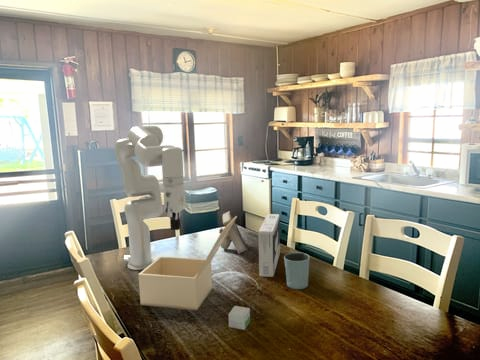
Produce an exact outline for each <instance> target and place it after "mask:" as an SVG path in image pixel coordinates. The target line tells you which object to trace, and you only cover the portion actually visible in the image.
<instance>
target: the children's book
mask: <svg viewBox="0 0 480 360" xmlns="http://www.w3.org/2000/svg"><path fill="white" fill-rule="evenodd" d="M233 218H234V217H233V215H232V213H231V211H230V210H229V211H227V212H224V213H223V214H222V224H223V226H224V228H225V227H226V226H227V225H228V224H229V223H230V222H231V220H232V219H233ZM224 228H223V227H220V229H219V230H218V234H221V232H222V230H223V229H224ZM246 243H247V242H246V241H245V237H243V236H242V233H241V231H240V229H239V227H238V225H237V223H236V220H235V221H234V223H233V225H232V226H231V228H230V230H229V231H228V233H227V235H226V237H225V238H224V240H223V242H222V244H221V245H220V248H221V249H223V250H225V251H227V250H228V249H229V248H230V246H231V244H233V245H234V248H235V250H236V252H237V253H238V254H239V255H240V254H241V253H243V252H245V251H247V250H248V248H247V246H246V245H247V244H246Z"/></svg>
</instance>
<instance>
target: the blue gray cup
mask: <svg viewBox="0 0 480 360" xmlns="http://www.w3.org/2000/svg"><path fill="white" fill-rule="evenodd" d="M310 258H311V256H310V255H309V254H307V253H304V252H299V251H293V252H288V253H286V254H285V255H283V261H284V267H285V276H286V277H285V278H286V280H285V281H286V286H287V287H289V288H290V289H294V290H303V289H306V288H308V285H309V274H310V273H309V272H310V269H309V268H310V261H311V259H310Z"/></svg>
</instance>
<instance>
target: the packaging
mask: <svg viewBox="0 0 480 360" xmlns="http://www.w3.org/2000/svg"><path fill="white" fill-rule="evenodd" d="M280 229H281V227H280V214H279V213H267V214H266V217H265V218H264V220H263V222H262V224H261V226H260V228H259V229H258V232H257V235H258V237H257V238H258V269H259V270H258V275H259V277H265V278H266V277H268V278H274V275H275V272H276V269H277V265H278V262H279V257H280V254H281V244H280V243H281V241H280V240H281V237H280V233H281V232H280V231H281V230H280Z"/></svg>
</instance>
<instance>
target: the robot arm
mask: <svg viewBox="0 0 480 360" xmlns="http://www.w3.org/2000/svg"><path fill="white" fill-rule="evenodd" d="M163 139H164V133H163V131H162V129H161V128H160V127H159V126H157V125H138V126H133V127H132V128H131V129H130V130H129V131H128V133H127V138H122V139H119V140H117V141H116V142H115V144H114V154H115V157H116V160H117V162H118V164H119V167H120V169H121V175H122V181H123V188H124V192H125V195H126V196H127V197H129V198H137V197H143V196H144V197H146V196H148V197H147V198H138V199H131V200H130V201H128V202H126V203H125V205H124V215H125V218H126V219H125V220H126V223H127V232H128V245H129V255H127V254H125V255H124V256H123V261H124V262H128V263H127V268H128V269H130V270H133V271H143V270H144V269H146V268H147V267H148V266H149V265H150V264H152V263H153V262H154V261H155V259H153V258H152V249H151V236H150V233H151V232H150V227H149V225H148V224H147V223H146V222H145V221H144V220H148V219H152V218H157V217H160V216H161V215H162V214H163V212H164V213H165V214H167V215H166V217H167V218H169V220H170V222H169V225H170V230H171V231H179V230H181V212H182V211H184V209H185V208H186V207H187V204H186V202H187V201H186V193H185V186H184V185H185V184H184V183H185V181H184V159H183V158H184V157H183V149H182V148H181V147H179V146H178V147H176V146H174V145H170V144H169V145H161V144H162V143H163ZM133 157H135V158H136V159H137V160H136V159H135V158H133ZM139 163H140V164H141V165H142V166H144V167H148V168H151V167H152V168H153V167H160V166H161V170H162V171H161V172H162V186H163V197H162V193H161V186H160V181H159V180H158V178H157V176H156V175H153V174H146V175H144V174H142V172H141V171H142V170H141V169H142V168H141V166H140V164H139ZM162 198H163V199H162Z"/></svg>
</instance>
